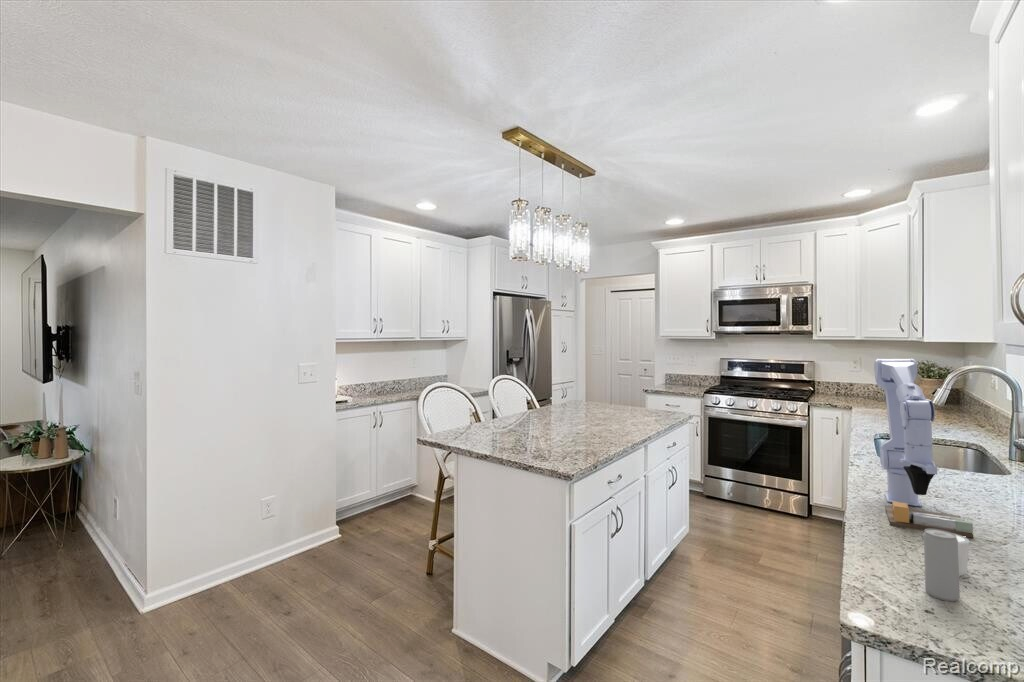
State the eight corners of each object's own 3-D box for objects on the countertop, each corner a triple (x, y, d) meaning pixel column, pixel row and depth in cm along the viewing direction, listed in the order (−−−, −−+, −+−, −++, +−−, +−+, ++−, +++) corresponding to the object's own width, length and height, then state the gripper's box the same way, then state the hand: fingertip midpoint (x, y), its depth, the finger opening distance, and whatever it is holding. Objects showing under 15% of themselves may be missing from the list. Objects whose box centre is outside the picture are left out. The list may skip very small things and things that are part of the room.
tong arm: (912, 519, 123) (912, 511, 123) (963, 525, 118) (963, 518, 118) (913, 520, 122) (913, 513, 122) (965, 527, 117) (964, 519, 117)
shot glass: (928, 558, 103) (927, 527, 104) (971, 568, 99) (969, 535, 99) (925, 569, 99) (924, 536, 99) (970, 580, 94) (969, 545, 94)
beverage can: (966, 603, 85) (964, 539, 85) (936, 601, 86) (934, 537, 86) (948, 590, 90) (945, 529, 90) (919, 588, 91) (917, 527, 91)
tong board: (885, 508, 135) (884, 497, 135) (960, 519, 126) (960, 507, 126) (889, 525, 123) (889, 512, 123) (973, 538, 113) (973, 524, 114)
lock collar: (892, 515, 126) (892, 501, 126) (907, 517, 124) (906, 503, 124) (894, 520, 122) (894, 505, 123) (909, 522, 121) (908, 508, 121)
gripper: (889, 438, 133) (890, 485, 133) (912, 448, 120) (914, 501, 119) (919, 439, 131) (921, 487, 131) (946, 450, 117) (948, 503, 117)
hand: (920, 494), depth 125 cm, fingers closed
